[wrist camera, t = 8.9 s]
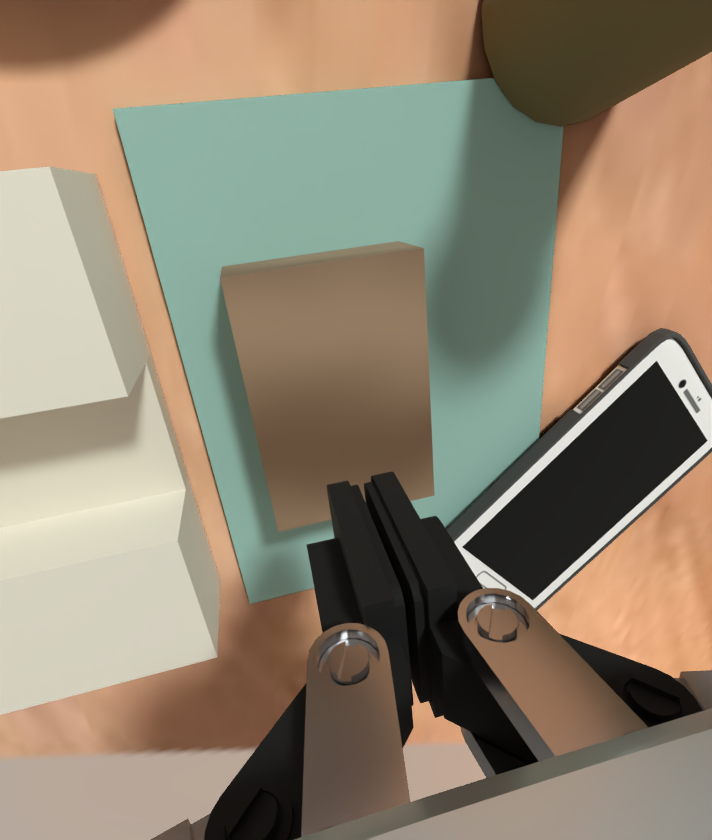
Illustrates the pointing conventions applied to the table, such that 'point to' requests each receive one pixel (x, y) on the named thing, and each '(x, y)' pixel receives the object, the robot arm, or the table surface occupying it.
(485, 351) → the mat
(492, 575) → the cell phone
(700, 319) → the table surface
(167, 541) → the slotted block
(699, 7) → the pepper mill
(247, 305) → the brown flat block
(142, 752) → the table surface
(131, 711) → the table surface
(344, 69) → the table surface
